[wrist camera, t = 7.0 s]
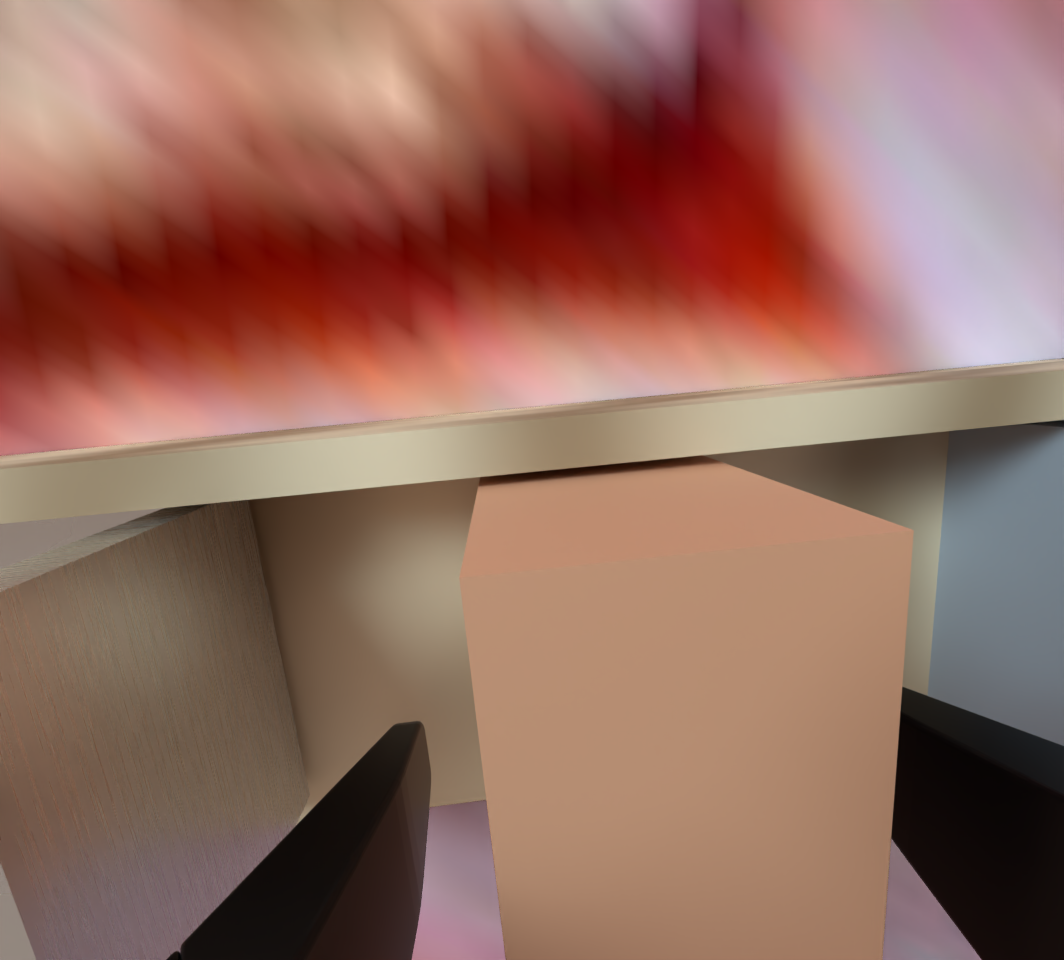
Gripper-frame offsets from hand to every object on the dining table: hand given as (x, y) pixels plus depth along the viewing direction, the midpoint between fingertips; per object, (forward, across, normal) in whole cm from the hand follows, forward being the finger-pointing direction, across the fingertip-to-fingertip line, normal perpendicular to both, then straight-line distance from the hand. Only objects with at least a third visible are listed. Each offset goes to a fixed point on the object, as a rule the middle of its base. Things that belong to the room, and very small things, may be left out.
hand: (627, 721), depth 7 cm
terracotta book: (+4, 0, 0) cm, 4 cm away
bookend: (+3, +9, 0) cm, 10 cm away
